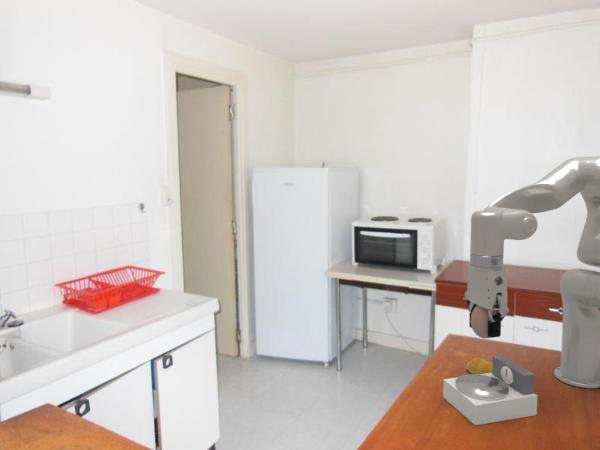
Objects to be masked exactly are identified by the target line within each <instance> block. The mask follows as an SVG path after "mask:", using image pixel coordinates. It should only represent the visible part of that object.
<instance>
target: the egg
mask: <svg viewBox="0 0 600 450" xmlns="http://www.w3.org/2000/svg"><path fill="white" fill-rule="evenodd" d="M493 308H495V306H493ZM493 314H494V315H495V314H496V311H493ZM488 321H490V318H489V314H488V310H487V309H485V308H482V307H480V306H478V305H477V306H476V307H475V308H474V310H473V312H472V314H471V327H472V328H471V327H470V328H471V329H472V331H473V333H475V335H476V336H477V337H479V338H481V339H489V337H488Z"/></svg>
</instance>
